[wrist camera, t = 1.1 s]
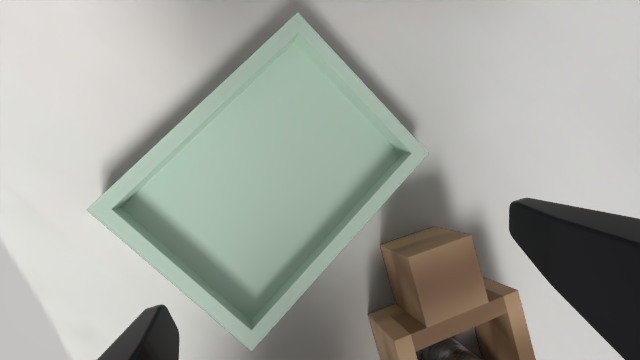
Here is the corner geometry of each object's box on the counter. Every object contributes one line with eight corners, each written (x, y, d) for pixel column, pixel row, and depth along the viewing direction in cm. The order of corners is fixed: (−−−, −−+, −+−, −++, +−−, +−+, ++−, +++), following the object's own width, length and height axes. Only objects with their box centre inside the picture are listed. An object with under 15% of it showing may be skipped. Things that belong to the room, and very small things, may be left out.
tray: (250, 336, 21) (251, 351, 19) (101, 207, 20) (85, 209, 18) (413, 155, 24) (428, 153, 22) (292, 27, 22) (297, 11, 20)
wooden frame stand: (502, 382, 25) (550, 418, 21) (400, 430, 23) (432, 479, 19) (459, 217, 24) (500, 224, 20) (351, 255, 23) (374, 269, 19)
